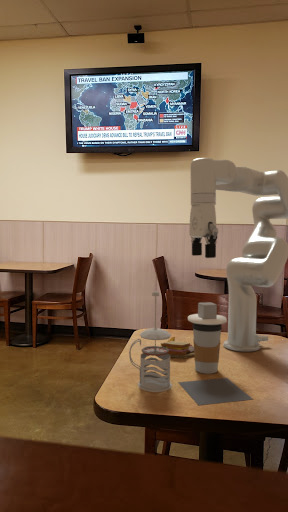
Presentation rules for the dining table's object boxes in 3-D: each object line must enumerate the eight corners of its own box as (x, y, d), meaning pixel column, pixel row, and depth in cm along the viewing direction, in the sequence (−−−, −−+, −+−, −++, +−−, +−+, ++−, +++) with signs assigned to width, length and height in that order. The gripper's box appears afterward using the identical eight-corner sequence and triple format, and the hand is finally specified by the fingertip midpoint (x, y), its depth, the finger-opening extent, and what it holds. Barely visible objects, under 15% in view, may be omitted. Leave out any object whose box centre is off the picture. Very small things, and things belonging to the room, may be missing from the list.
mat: (226, 379, 105) (226, 377, 105) (253, 401, 91) (253, 399, 91) (178, 384, 101) (178, 382, 101) (198, 407, 88) (198, 405, 88)
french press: (175, 394, 95) (176, 294, 93) (128, 394, 95) (128, 293, 93) (172, 379, 104) (173, 288, 103) (130, 379, 105) (130, 288, 103)
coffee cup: (220, 378, 106) (221, 324, 105) (190, 375, 108) (191, 322, 107) (221, 367, 114) (221, 317, 113) (192, 365, 116) (193, 316, 115)
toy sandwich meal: (204, 351, 130) (204, 338, 130) (184, 362, 119) (184, 347, 119) (173, 345, 138) (173, 332, 137) (151, 354, 127) (151, 340, 127)
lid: (216, 315, 117) (216, 299, 116) (233, 323, 106) (233, 306, 106) (182, 317, 114) (182, 301, 114) (196, 325, 103) (196, 308, 103)
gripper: (181, 202, 123) (181, 255, 125) (204, 198, 107) (204, 259, 108) (202, 202, 126) (202, 254, 127) (228, 198, 109) (228, 258, 110)
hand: (203, 256), depth 118 cm, fingers open, 9 cm apart
